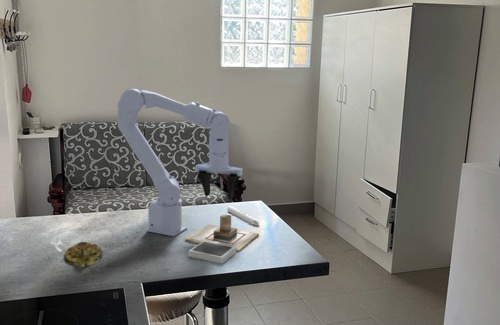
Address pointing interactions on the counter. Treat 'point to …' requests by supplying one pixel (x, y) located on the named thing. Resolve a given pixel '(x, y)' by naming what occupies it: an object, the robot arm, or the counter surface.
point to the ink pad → (212, 252)
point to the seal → (83, 254)
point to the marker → (243, 216)
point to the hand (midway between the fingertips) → (218, 196)
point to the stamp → (225, 229)
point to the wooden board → (208, 235)
